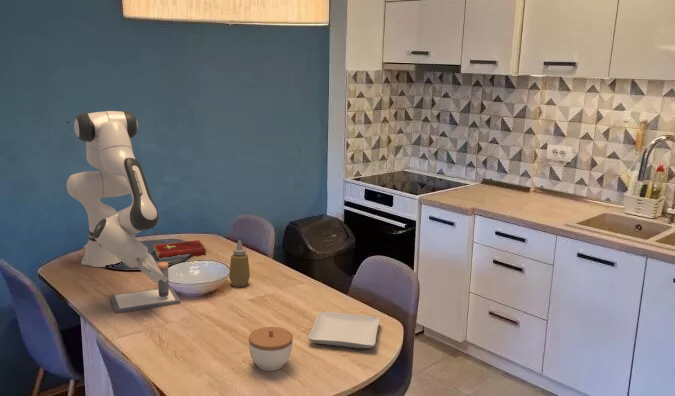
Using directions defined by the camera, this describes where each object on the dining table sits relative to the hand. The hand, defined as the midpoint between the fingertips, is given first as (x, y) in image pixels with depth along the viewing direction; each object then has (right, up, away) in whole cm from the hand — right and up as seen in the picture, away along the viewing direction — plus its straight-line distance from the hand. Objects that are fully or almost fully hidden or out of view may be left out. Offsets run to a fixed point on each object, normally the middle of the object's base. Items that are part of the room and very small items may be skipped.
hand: (164, 277), depth 211 cm
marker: (-1, -6, +1) cm, 7 cm away
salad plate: (+64, -17, -18) cm, 69 cm away
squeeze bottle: (+23, -6, +20) cm, 31 cm away
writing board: (-8, -9, +2) cm, 12 cm away
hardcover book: (-9, +3, +52) cm, 53 cm away
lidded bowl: (+42, -20, -38) cm, 61 cm away
